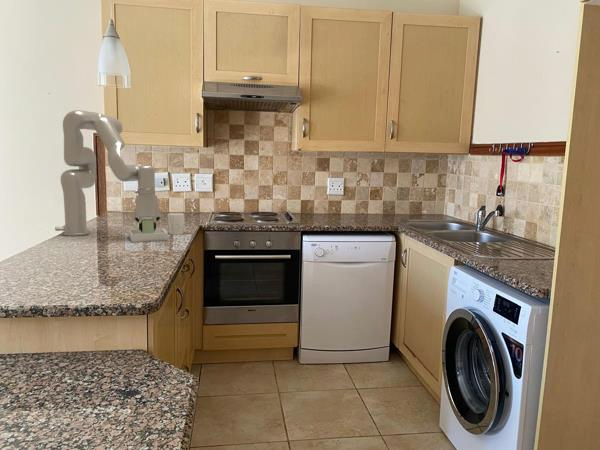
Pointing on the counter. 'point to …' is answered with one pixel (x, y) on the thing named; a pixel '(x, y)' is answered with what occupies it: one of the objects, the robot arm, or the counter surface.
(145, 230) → the green block
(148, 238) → the white bin
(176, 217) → the white cup
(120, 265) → the counter surface
